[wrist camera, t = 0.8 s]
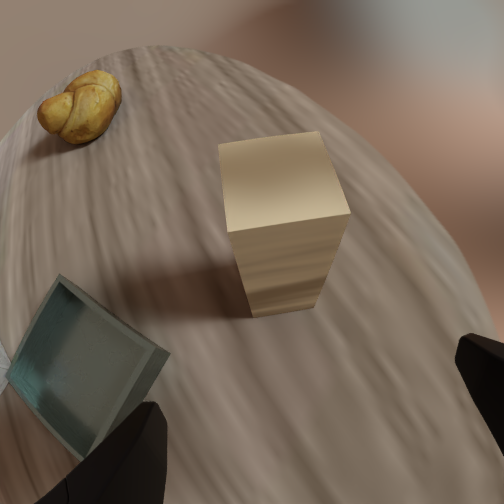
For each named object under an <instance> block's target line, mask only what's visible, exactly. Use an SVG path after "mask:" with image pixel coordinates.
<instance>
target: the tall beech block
mask: <svg viewBox="0 0 504 504" xmlns="http://www.w3.org/2000/svg"><path fill="white" fill-rule="evenodd" d="M218 149H219V158H220V168H221V177H222V187H223V196H224V204H225V213H226V222H227V231H228V235H229V238H230V242H231V245H232V249H233V252H234V255H235V259H236V262H237V266H238V269H239V272H240V276H241V279H242V282H243V286H244V289H245V293H246V296H247V299H248V302H249V306H250V309H251V312H252V316H253V318H257V317H263V316H269V315H275V314H281V313H287V312H293V311H298V310H304V309H309V308H314V306H315V304H316V301H317V299H318V297H319V294H320V292H321V289H322V287H323V285H324V282H325V280H326V277H327V275H328V272H329V270H330V267H331V265H332V262H333V260H334V257H335V255H336V252H337V250H338V247H339V244H340V242H341V239H342V236H343V234H344V231H345V228H346V226H347V223H348V220H349V217H350V215H351V212H350V209H349V207H348V204H347V201H346V198H345V196H344V193H343V190H342V188H341V185H340V183H339V180H338V177H337V175H336V172H335V170H334V167H333V165H332V162H331V160H330V158H329V155H328V153H327V150H326V148H325V146H324V143H323V141H322V139H321V136H320V134H319V132H308V133H298V134H288V135H280V136H272V137H264V138H257V139H250V140H244V141H237V142H231V143H225V144H219V145H218Z"/></svg>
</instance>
